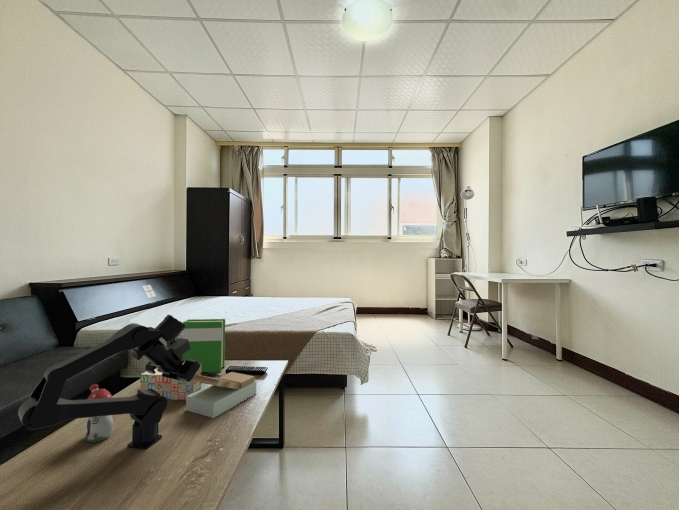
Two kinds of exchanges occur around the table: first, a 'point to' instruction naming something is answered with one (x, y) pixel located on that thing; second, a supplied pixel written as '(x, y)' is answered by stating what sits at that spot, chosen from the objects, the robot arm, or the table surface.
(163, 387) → the stack of blocks
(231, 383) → the board
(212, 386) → the white box
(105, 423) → the decorative ornament
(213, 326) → the hardback book
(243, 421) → the table surface
